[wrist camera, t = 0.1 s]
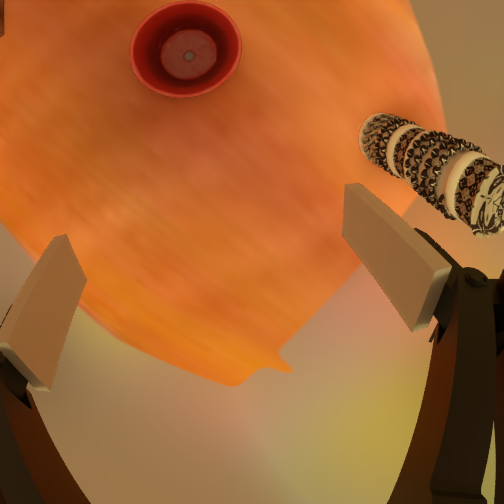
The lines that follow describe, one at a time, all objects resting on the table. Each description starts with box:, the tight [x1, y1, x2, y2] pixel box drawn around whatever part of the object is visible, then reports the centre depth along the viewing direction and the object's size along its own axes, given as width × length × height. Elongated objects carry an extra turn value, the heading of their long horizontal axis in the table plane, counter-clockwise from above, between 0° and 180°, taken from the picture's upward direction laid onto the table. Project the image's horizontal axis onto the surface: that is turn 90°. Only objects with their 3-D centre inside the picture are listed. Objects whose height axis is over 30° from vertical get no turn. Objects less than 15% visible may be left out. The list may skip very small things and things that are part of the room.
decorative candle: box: [358, 112, 504, 239], centre depth 30 cm, size 9×9×25 cm
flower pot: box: [129, 0, 242, 98], centre depth 26 cm, size 11×11×10 cm
